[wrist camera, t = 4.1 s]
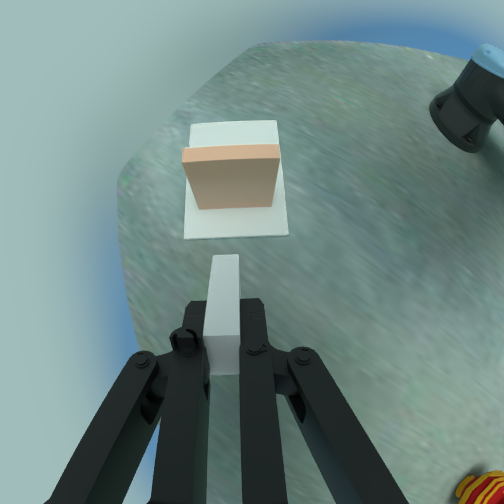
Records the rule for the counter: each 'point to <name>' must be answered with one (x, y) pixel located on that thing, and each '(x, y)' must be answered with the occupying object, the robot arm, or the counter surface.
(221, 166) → the terracotta tile
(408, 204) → the counter surface
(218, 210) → the white rectangular board
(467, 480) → the potion bottle
